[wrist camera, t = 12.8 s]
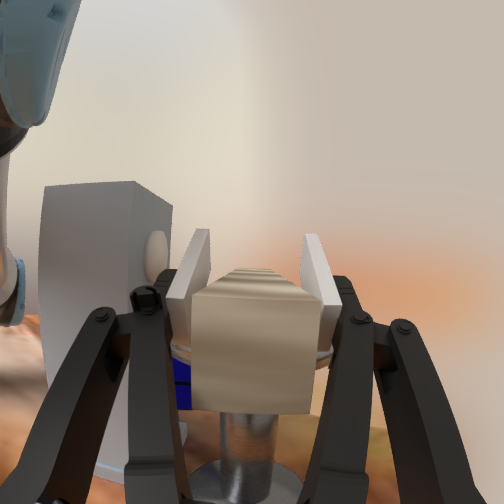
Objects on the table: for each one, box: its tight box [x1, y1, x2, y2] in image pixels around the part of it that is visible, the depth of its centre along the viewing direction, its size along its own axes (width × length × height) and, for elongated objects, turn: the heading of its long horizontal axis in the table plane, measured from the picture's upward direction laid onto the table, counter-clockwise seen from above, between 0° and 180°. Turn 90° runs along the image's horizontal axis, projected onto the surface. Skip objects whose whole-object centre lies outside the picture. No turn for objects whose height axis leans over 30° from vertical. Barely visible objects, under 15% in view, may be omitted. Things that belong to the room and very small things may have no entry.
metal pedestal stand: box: [170, 337, 334, 504], centre depth 23 cm, size 14×14×19 cm
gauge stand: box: [38, 181, 188, 485], centre depth 28 cm, size 13×14×30 cm
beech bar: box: [191, 268, 321, 414], centre depth 23 cm, size 28×4×4 cm, turn 0°
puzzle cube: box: [172, 357, 193, 410], centre depth 45 cm, size 10×10×10 cm
